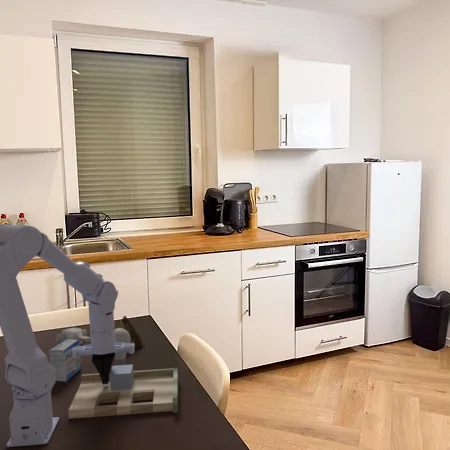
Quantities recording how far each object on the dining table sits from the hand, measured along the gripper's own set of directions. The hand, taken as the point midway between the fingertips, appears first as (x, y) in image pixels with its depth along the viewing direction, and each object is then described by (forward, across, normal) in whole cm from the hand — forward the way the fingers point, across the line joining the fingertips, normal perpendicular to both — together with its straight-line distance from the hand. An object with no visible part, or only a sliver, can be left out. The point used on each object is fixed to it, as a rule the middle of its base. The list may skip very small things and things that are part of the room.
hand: (105, 382), depth 112 cm
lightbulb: (+3, -2, -16) cm, 16 cm away
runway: (+3, -6, +4) cm, 7 cm away
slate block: (+1, -4, 0) cm, 4 cm away
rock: (+3, -2, -34) cm, 34 cm away
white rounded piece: (+3, +16, -35) cm, 39 cm away
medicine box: (+3, +12, -12) cm, 18 cm away
